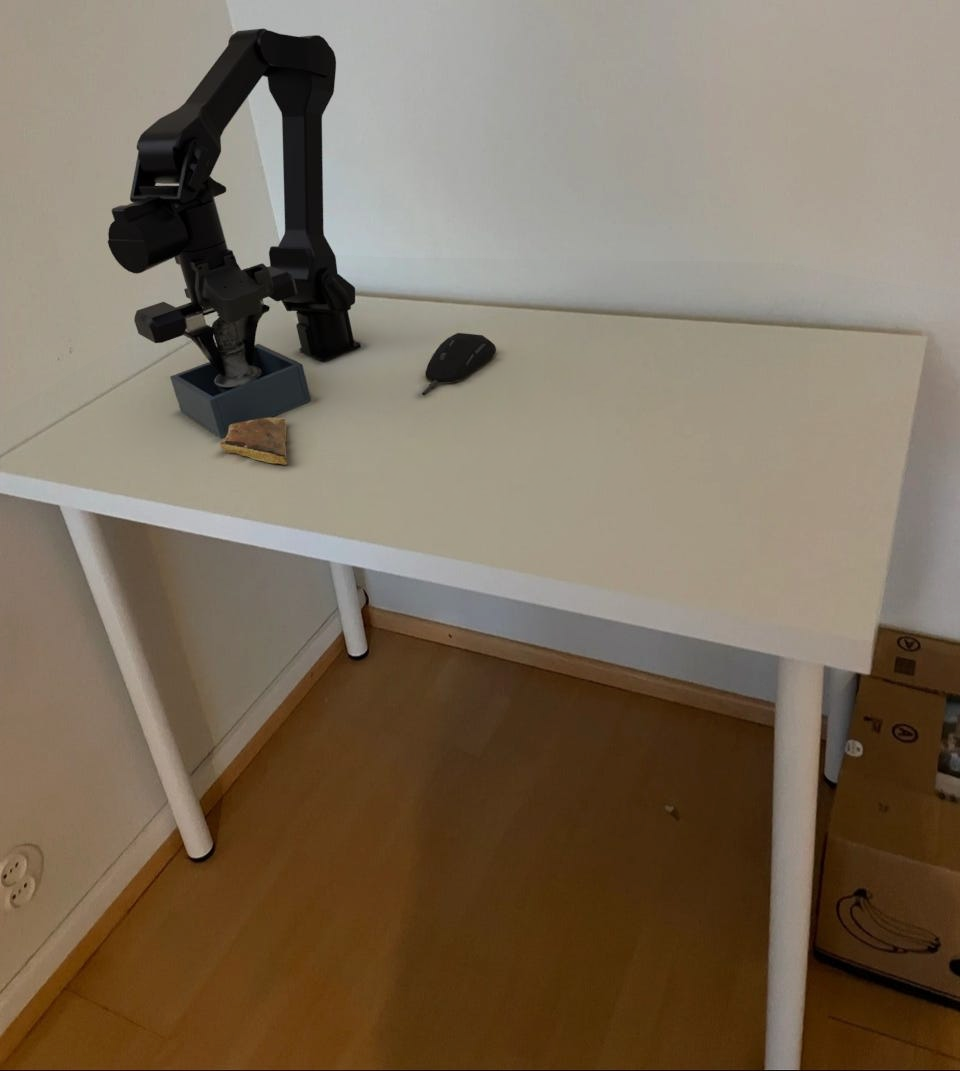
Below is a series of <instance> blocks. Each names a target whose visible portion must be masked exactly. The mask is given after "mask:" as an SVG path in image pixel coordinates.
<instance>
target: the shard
mask: <svg viewBox="0 0 960 1071" xmlns="http://www.w3.org/2000/svg"><path fill="white" fill-rule="evenodd" d="M286 442H287V424H286V419H285V418H283V417H267V418H259V419H256V420H249V421H244V422H238V423H233V424H231V425H230V426H229V430H228V434H227V436H226V437H224V439H223V441H221V442H220V444H219V446H220V448H221V449H222V451H224V452H226V453H227V454H237V455H240V456H243V457H248V458H250V459H253V460H255V461H260V462H264V463H266V464H279V465H284V466H285V465H287V464H288V462H287V452H286Z"/></svg>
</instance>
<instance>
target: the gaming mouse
mask: <svg viewBox="0 0 960 1071" xmlns="http://www.w3.org/2000/svg"><path fill="white" fill-rule="evenodd" d="M496 354H497V347H496V344H494V342H492V341H491V340H490V339H489V338H487V336H484V335H483V334H475V333H466V332H465V333H464V332H456V333H455V334H452V335H451V336H449V337H447V338H446V339H445V340H444V341H443V342H442V343H440V345H439V346H438V347H437V348H436V350H435V351H434V352H433V354H432V355H431V357H430V359H429V360H428V363H427V366H426V369H425V379H427V380H428V381H431V382H430V383H429V384H428V386H427V387H426V388H425V389H424V390H423V391H422V392H421V394H422V395H423V396H425V395H426V394H427V393H428V392H430V390H432V389H434V388H435V387H436V386H437V385H438V383H441V384H446V383H447V384H448V383H451V384H452V383H457V382H460V381H463V380H465V379H466V378H468V377H470V376H471V375H472V374H473V373H475V372H477V371H478V370H479V369H480V368H482V367H484V366H486V365H487V363H489V362H491V361H492V360H493V358H494V357H495V355H496Z"/></svg>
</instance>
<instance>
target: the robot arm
mask: <svg viewBox="0 0 960 1071" xmlns="http://www.w3.org/2000/svg"><path fill="white" fill-rule="evenodd" d="M336 72H337V58H336V54H335V51H334V50H333V48H332V46H330V45H329V42H328V41H327V40H326V39H325V38H324V37H323V36H321V35H320V34H315V35H314V34H313V35H312V34H311V35H302V36H301V35H300V36H297V35H290V34H283V33H278V32H275V31H272V30H268V29H266V28H264V27H263V28H255V29H254V28H253V29H243V30H236V32H234V33H233V34H231V35H230V36H229V38H228V45H227V46H226V47H225V49H224V50H223V52H222V53H221V54H220V56H218V58H217V59H216V60H215V62H214V63H213V64H212V66H211V67H210V69H209V70H208V71H207V73H205V75H204V77H203V78H202V79H201V81H200V82H199V84H198V85H197V86H196V87H195V89H194V90H193V91H192V93H191V94H190V95H189V96H188V98H187V99H186V101H185V102H184V103H183V104H182V105H180V106H179V107H178V108H177V109H176V110H173V111H172V112H170V113H168V114H165V115H164V116H162V117H160V118H159V119H157V120H156V121H155V122H154V123H152V124H151V125H150V126H149V127H148V128H147V129H145V130H144V131H143V132H142V133H141V134H140V136H139V138H138V140H137V143H136V150H137V157H136V163H135V167H134V172H133V179H132V184H131V189H130V195H129V200H130V202H131V203H129V204H123V205H118V206H115V207H113V208H111V214H112V217H113V221H112V222H111V224H110V225H109V228H108V232H107V233H108V234H107V235H108V236H107V237H108V239H107V245H108V248H109V251H110V252H111V254H112V257H113V258H114V259H115V261H116V262H117V264H118V265H120V266H121V267H122V268H123V269H124V270H126V271H127V272H129V273H132V274H136V275H138V274H141V273H144V272H147V271H149V270H151V269H152V268H155V267H157V266H159V265H162V264H163V263H165V262H168V261H170V260H172V259H174V261H175V264H176V265H179V266H180V269H181V273H182V276H183V279H184V283H185V286H186V288H184V289H183V291H184V294H185V297H186V299H188V300H190V302H187V303H185V304H182V305H179V306H174V305H172V304H170V303H167V302H165V301H161V302H158V303H155V304H152V305H150V306H146V307H143V308H140V309H138V310H137V309H136V312H135V315H134V318H133V321H134V324H135V328H136V331H137V333H138V335H140V336H142V337H143V338H145V339H147V340H149V341H151V342H152V343H154V344H163V343H165V342H168V341H170V340H173V339H176V338H179V337H183V336H184V337H186V338H188V339H190V340H191V341H192V342H193V343H194V344H195V345H196V346H197V348H198V349H199V350H200V351H201V352H202V354H203V355H204V356H205V358H206V359H207V360H208V362H210V363H211V364H212V365H213V367H214V368H215V369H216V371H217V372H218V373H219V374H220V375H221V376H224V375H225V370H224V365H223V362H222V360H221V357H220V354H219V351H218V349H217V344H216V341H215V338H214V334H213V333H214V328H213V327H212V325H208V324H207V322H206V318H205V316H208V315H211V314H214V313H217V315H218V314H219V315H220V316H221V318H222V319H223V320H224V321H226V322H229V323H232V322H235V325H236V329H237V332H238V336H239V340H240V342H243V343H244V347H243V352H244V355H245V359H246V361H247V363H248V364H249V366H250V365H252V364H253V356H254V346H255V345H256V334H257V330H258V324H259V321H260V320H261V318H262V317H263V315H264V314H266V313H268V312H269V311H270V308H271V307H270V305H267V304H265V303H264V302H265V301H264V299H266V298H270V299H271V300H273V301H275V302H281V303H282V305H283V306H284V308H285V310H286V311H287V312H295V314H296V318H297V322H298V323H296V326H295V328H296V332H297V335H298V339H299V343H300V344H299V345H300V347H299V352H300V353H301V354H304V355H306V356H308V357H310V358H313V359H315V360H317V361H320V362H326V361H328V360H331V359H333V358H336V357H338V356H341V355H344V354H347V353H349V352H351V351H354V350H356V349H359V348H361V346H362V345H361V342H359V341H357V340H355V339H354V335H353V330H352V324H351V319H350V316H349V311H350V310H351V309H352V306H353V305H355V303H356V287H355V286H354V285H352V284H351V283H350V282H349V281H348V280H346V279H345V278H344V277H342V275H340V274H339V273H338V264H337V257H336V254H335V252H334V251H333V249H332V247H331V245H330V243H329V242H328V240H327V238H326V236H325V231H324V230H325V229H324V175H323V174H324V170H323V167H324V166H323V165H324V164H323V162H324V161H323V115H324V113H325V111H326V109H327V108H328V106H329V103H330V102H331V99H332V97H333V96H334V92H335V83H336ZM263 77H265V78H267V84H268V90H269V93H270V94H271V97H272V99H273V100H274V102H275V104H276V105H277V107H278V110H279V111H280V113H281V128H282V129H281V130H282V134H281V135H282V166H283V168H282V169H283V205H284V206H283V207H284V208H283V209H284V234H283V236H282V237H281V240H280V242H279V243H278V246H277V245H271V246H270V247H269V251H268V258H269V266H266V265H265V264H264V263H263V262H262V263H259V264H256V265H252V266H250V267H246V268H243V269H242V268H241V267H240V265H239V264H238V261H237V259H236V255H234V251H233V250H232V249H229V248H228V244H227V240H226V237H225V233H224V230H223V226H222V223H221V219H220V214H219V211H218V207H217V204H216V199H215V198H216V197H218V196H220V195H223V194H225V193H227V187H226V186H225V185H223V183H220V182H219V181H216V180H214V178H213V177H212V176H211V175H212V172H213V171H214V168H215V167H216V164H217V163H218V160H219V158H220V156H221V153H222V140H221V139H222V138H221V137H222V135H223V134H224V131H225V130H226V128H227V127H228V126H229V123H230V122H231V121H232V120H233V118H234V117H235V116H236V114H237V112H238V111H239V110H240V108H241V107H242V105H243V104H244V103H245V101H246V100H247V98H248V97H249V96H250V95H251V93H252V91H253V90H254V89H255V87H256V86H257V84H258V83H259V82H260V80H261V79H262V78H263ZM156 184H161V185H156ZM174 184H175V185H174Z"/></svg>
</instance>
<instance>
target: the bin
mask: <svg viewBox="0 0 960 1071" xmlns="http://www.w3.org/2000/svg"><path fill="white" fill-rule="evenodd" d="M250 366H255V367H258V368H259V369H261V372H262V373H261V375H260V378H259V379H256V380H254V381H251V382H249V383H246V384H244V385H241V386H238V387H236V388H233V389H231V390H228V391H226V392H223V393H222V392H221V391H220V389H219V386H217V385H216V384H215V382H214V380H215V378H216V377H217V376H218V375H219V373H218V372H217V371H216V369H215V368H214V367H213V365H212V364H211V363H210V361H208V362H205V363H202V364H199V365H197V366H195V367H194V366H193V367H192V368H189V369H186V370H184V371H181V372H179V373H175V374H172V375H170V376H169V378H170V379H169V380H170V381H171V384H172V387H173V391H174V393H175V398H176V400H177V403H178V407H179V409H180V413H182V414H183V415H184V416H186V417H188V418H189V419H190V420H192V421H194V422H195V423H196V424H199V425H200V426H202V427H203V428H204V429H206V430H207V431H209V432H211V433H212V434H214V435H215V436H216V437H218V438H220V439H224V438H226V436H227V434H228V430H229V426H230V425H231V424H233V423H238V422H244V421H249V420H256V419H259V418H267V417H272V418H275V417H276V416H278V415H281V414H284V413H286V412H288V411H290V410H293V409H295V408H298V407H300V406H302V405H305V404H308V403H310V402H312V397H311V394H310V390H309V385H308V381H307V377H306V374H305V368H304V365H303V363H301V362H299V361H297V360H295V359H293V358H291V357H288V356H286V355H284V354H282V353H279V352H277V351H275V350H273V349H271V348H269V347H267V346H265V345H262V344H260V343H255V346H254V356H253V364H252V365H250Z"/></svg>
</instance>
